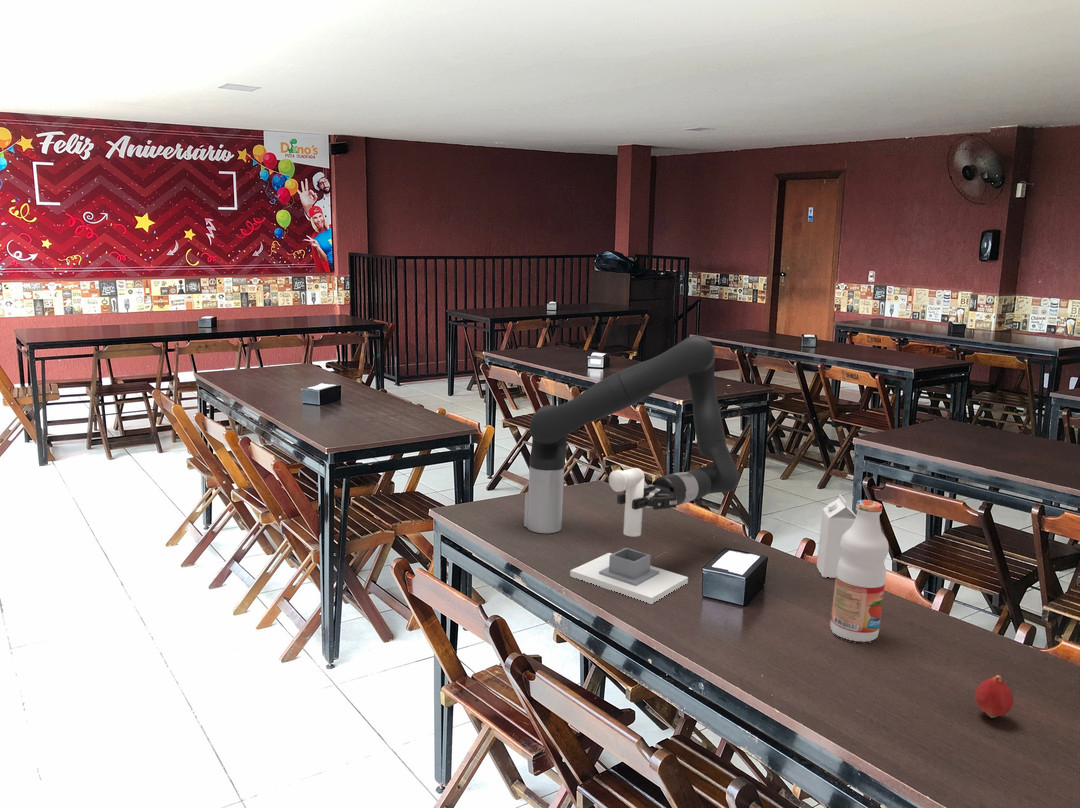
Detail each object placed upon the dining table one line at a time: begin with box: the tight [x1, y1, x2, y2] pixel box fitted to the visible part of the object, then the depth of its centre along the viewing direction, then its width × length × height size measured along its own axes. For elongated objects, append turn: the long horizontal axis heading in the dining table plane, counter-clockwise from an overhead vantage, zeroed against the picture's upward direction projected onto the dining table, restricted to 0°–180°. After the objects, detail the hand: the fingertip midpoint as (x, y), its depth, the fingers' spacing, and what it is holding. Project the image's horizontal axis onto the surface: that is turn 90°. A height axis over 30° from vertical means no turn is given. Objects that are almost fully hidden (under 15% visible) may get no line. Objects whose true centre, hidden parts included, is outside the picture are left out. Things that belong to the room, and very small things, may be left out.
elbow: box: [608, 467, 645, 538], centre depth 196 cm, size 8×5×16 cm, turn 132°
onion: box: [974, 674, 1015, 717], centre depth 148 cm, size 6×6×8 cm
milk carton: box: [816, 493, 857, 579], centre depth 209 cm, size 7×7×19 cm
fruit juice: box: [829, 499, 889, 642], centre depth 176 cm, size 9×9×28 cm
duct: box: [569, 547, 689, 605], centre depth 201 cm, size 22×16×6 cm
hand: (626, 502), depth 196 cm, fingers closed on elbow, 4 cm apart
